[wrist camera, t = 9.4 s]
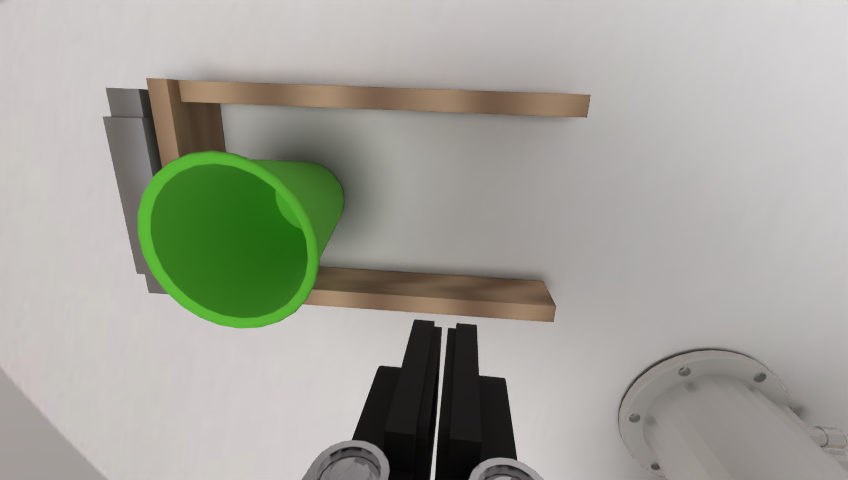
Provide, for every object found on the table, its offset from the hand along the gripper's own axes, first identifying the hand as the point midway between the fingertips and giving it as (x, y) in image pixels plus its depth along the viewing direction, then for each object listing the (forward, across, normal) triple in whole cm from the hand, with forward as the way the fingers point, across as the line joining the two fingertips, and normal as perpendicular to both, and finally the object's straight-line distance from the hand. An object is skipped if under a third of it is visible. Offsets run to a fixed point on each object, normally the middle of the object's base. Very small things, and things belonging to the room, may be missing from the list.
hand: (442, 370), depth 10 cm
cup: (+19, +11, -1) cm, 22 cm away
